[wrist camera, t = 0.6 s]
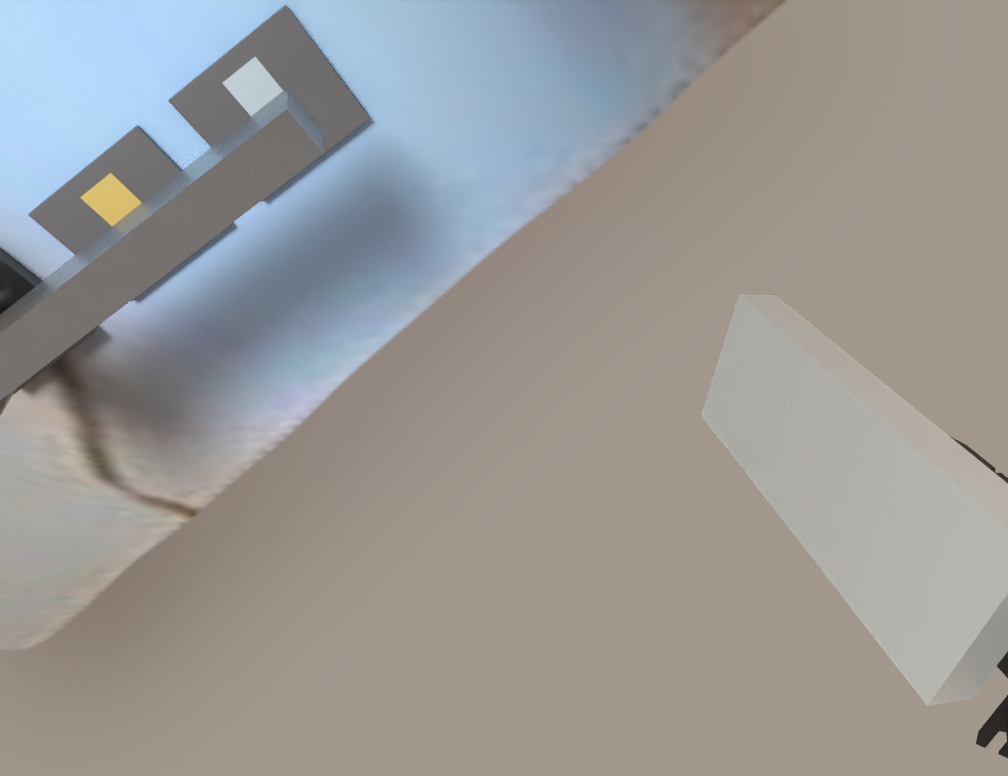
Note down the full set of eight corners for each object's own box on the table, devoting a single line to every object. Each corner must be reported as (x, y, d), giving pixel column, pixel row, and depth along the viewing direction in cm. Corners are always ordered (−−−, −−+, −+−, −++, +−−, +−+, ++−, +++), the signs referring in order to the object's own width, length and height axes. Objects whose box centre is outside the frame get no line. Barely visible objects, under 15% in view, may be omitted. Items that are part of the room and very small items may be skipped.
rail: (-101, 361, 32) (-156, 423, 28) (271, 63, 29) (266, 87, 25) (-18, 414, 35) (-58, 478, 31) (336, 143, 31) (340, 177, 28)
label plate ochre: (30, 212, 34) (27, 215, 34) (137, 125, 33) (135, 127, 33) (132, 298, 38) (130, 302, 38) (232, 222, 37) (231, 225, 37)
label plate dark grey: (169, 99, 33) (168, 101, 33) (285, 5, 32) (285, 5, 32) (261, 199, 37) (261, 202, 36) (369, 117, 36) (369, 119, 35)
